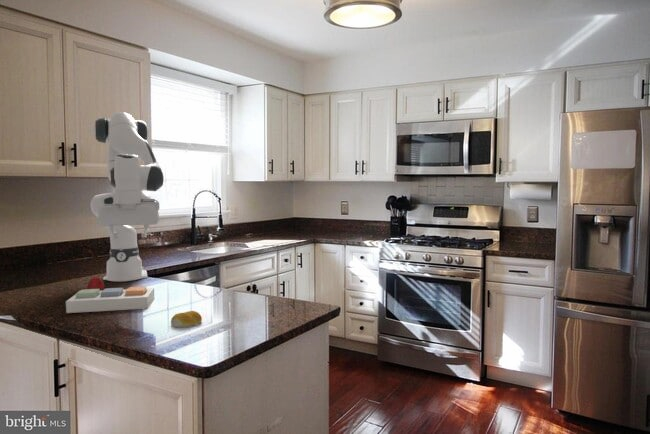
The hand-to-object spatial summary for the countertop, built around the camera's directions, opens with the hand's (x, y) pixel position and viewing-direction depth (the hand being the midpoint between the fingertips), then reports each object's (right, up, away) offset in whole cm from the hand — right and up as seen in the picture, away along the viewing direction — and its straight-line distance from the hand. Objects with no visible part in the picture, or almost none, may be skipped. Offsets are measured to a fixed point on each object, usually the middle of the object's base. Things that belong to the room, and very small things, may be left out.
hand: (130, 237), depth 167 cm
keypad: (-6, -24, -1) cm, 25 cm away
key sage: (-14, -22, -3) cm, 26 cm away
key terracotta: (+2, -21, 0) cm, 21 cm away
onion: (-19, -23, +14) cm, 33 cm away
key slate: (-6, -21, -1) cm, 22 cm away
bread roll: (+27, -26, -23) cm, 44 cm away
